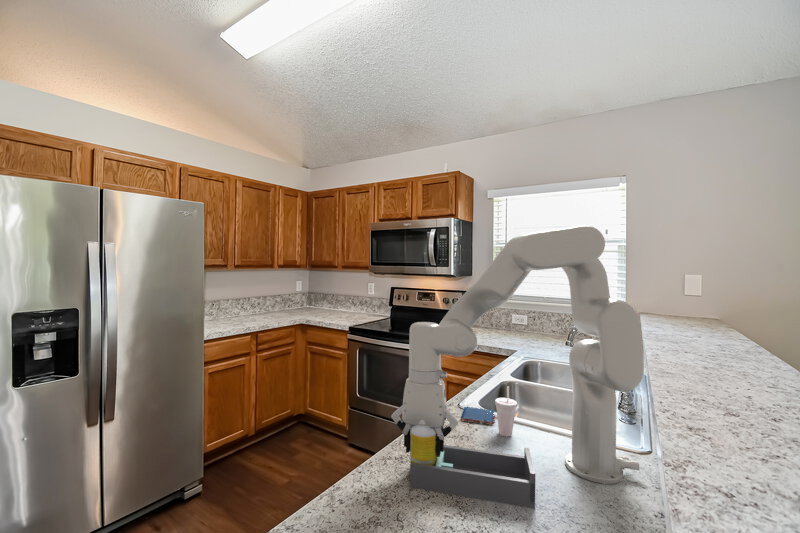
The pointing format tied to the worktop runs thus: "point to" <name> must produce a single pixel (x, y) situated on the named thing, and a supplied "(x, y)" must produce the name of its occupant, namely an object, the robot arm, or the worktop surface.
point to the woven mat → (478, 415)
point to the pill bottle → (423, 444)
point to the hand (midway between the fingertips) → (423, 451)
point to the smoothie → (505, 414)
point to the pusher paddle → (441, 462)
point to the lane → (480, 476)
